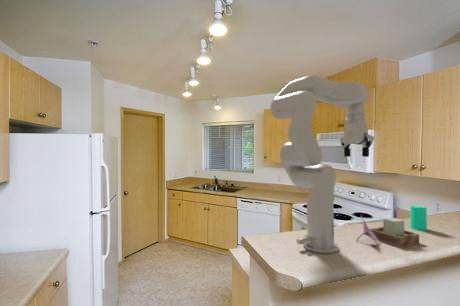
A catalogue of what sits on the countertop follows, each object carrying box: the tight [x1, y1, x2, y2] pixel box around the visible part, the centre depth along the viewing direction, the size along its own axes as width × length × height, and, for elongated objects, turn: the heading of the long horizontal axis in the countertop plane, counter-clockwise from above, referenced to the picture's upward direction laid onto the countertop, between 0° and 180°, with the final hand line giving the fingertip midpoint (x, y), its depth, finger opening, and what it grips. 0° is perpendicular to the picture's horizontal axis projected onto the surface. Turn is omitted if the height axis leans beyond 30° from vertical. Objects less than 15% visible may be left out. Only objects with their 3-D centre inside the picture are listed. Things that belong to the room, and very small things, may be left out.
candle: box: [409, 204, 428, 231], centre depth 111 cm, size 6×6×12 cm
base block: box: [369, 226, 420, 248], centre depth 96 cm, size 12×12×4 cm
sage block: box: [382, 217, 405, 237], centre depth 96 cm, size 5×5×6 cm
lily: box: [356, 216, 380, 247], centre depth 94 cm, size 12×12×10 cm
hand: (356, 156), depth 107 cm, fingers open, 9 cm apart
